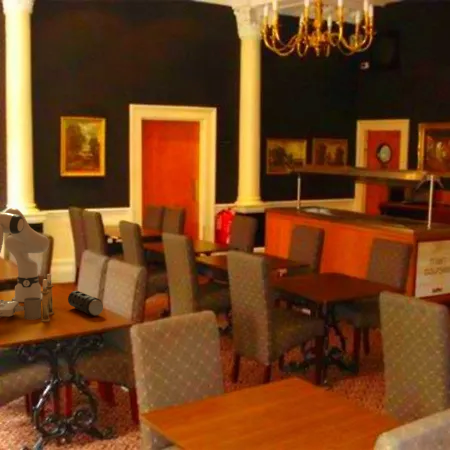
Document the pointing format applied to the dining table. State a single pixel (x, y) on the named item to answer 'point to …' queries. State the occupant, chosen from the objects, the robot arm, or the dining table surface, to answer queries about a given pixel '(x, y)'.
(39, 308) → the cup
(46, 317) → the candlestick outer
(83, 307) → the muzzle brake
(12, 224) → the robot arm
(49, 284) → the candlestick inner
